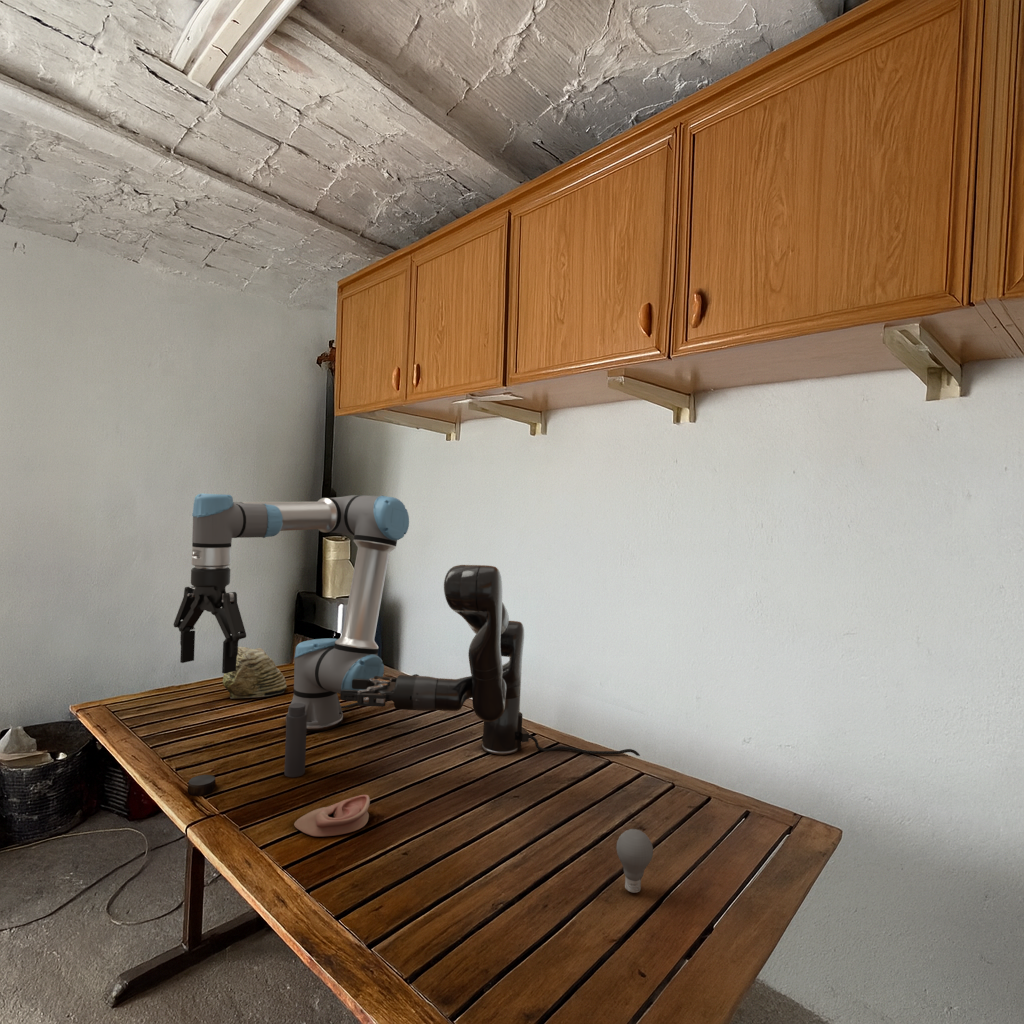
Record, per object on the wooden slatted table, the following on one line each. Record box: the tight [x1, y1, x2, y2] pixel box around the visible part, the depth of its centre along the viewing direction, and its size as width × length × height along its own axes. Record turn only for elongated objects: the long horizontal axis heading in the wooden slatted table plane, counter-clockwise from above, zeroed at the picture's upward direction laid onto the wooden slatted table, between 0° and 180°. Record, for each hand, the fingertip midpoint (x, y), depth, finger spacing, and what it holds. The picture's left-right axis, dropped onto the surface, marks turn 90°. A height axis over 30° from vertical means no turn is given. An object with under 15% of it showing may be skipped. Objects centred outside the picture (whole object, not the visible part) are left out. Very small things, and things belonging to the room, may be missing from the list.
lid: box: [187, 774, 216, 797], centre depth 134 cm, size 5×5×2 cm
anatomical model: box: [293, 794, 371, 837], centre depth 123 cm, size 13×4×12 cm
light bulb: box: [615, 828, 654, 894], centre depth 106 cm, size 6×6×10 cm
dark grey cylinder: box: [283, 703, 307, 778], centre depth 144 cm, size 4×4×16 cm
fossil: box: [222, 646, 288, 699], centre depth 198 cm, size 9×18×15 cm, turn 132°
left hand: (207, 666), depth 134 cm, fingers open, 13 cm apart
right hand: (346, 689), depth 144 cm, fingers open, 8 cm apart
